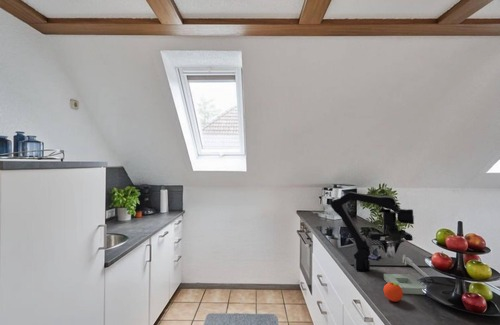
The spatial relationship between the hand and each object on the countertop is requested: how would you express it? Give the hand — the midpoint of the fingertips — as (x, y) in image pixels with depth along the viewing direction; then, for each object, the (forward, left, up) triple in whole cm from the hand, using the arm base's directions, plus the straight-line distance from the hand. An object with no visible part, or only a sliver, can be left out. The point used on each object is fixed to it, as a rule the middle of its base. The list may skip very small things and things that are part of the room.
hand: (390, 253), depth 129 cm
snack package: (0, +26, -11) cm, 28 cm away
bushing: (0, 0, -2) cm, 2 cm away
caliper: (+14, +6, -11) cm, 19 cm away
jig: (+1, -12, -11) cm, 16 cm away
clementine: (-8, -25, -11) cm, 29 cm away
